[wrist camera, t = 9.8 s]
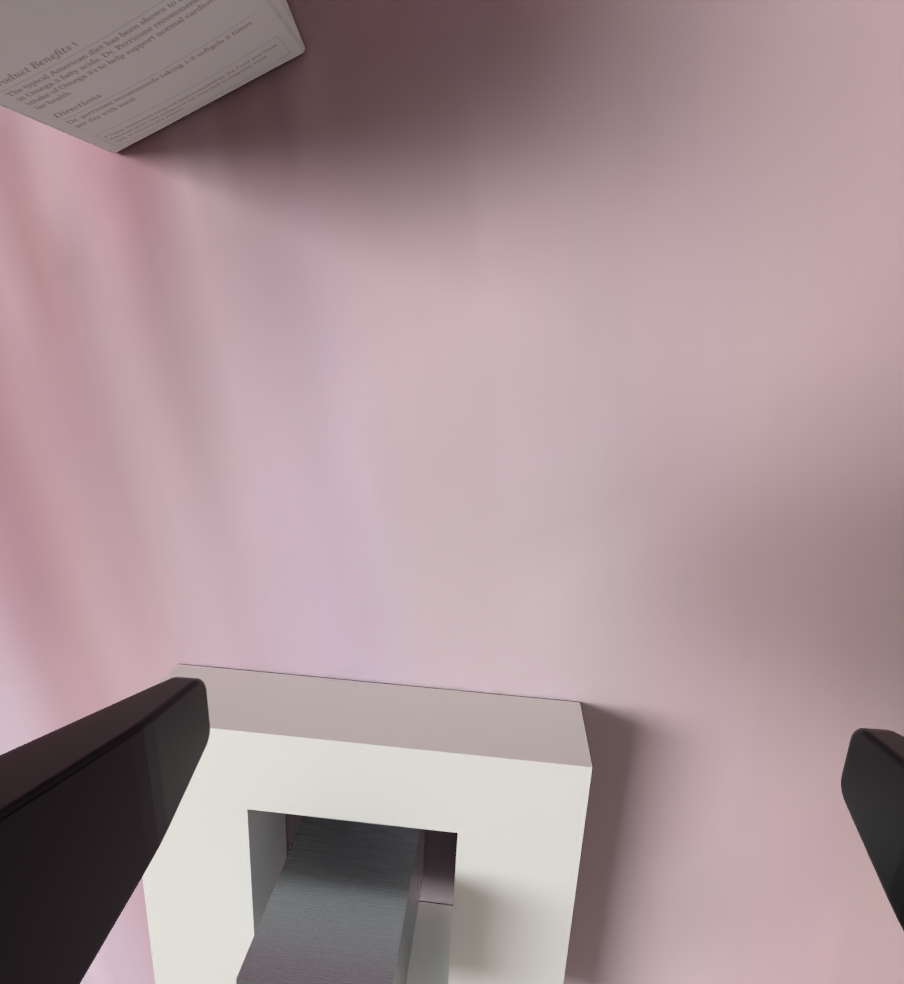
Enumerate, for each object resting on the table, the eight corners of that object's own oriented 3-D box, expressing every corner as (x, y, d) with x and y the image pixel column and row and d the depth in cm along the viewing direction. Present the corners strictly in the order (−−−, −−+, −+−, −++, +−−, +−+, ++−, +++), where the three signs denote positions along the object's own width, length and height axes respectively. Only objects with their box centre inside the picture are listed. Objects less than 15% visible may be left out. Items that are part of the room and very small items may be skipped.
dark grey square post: (426, 789, 25) (389, 999, 17) (422, 875, 26) (387, 1108, 18) (320, 777, 25) (235, 979, 17) (320, 863, 26) (243, 1086, 18)
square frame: (579, 702, 23) (592, 767, 19) (546, 973, 27) (552, 1067, 23) (177, 664, 24) (123, 719, 21) (200, 929, 28) (158, 1012, 24)
